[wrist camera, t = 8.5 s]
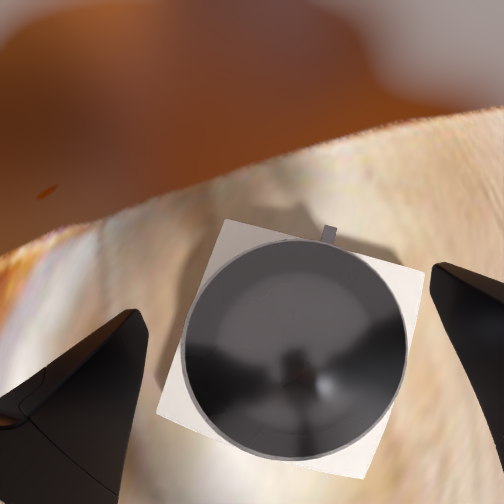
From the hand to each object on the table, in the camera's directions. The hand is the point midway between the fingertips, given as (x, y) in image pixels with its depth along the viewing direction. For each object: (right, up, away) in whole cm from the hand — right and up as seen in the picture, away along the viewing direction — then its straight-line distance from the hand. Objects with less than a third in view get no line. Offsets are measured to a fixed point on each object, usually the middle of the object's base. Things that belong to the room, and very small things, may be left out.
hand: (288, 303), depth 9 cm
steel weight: (+1, -4, +7) cm, 9 cm away
